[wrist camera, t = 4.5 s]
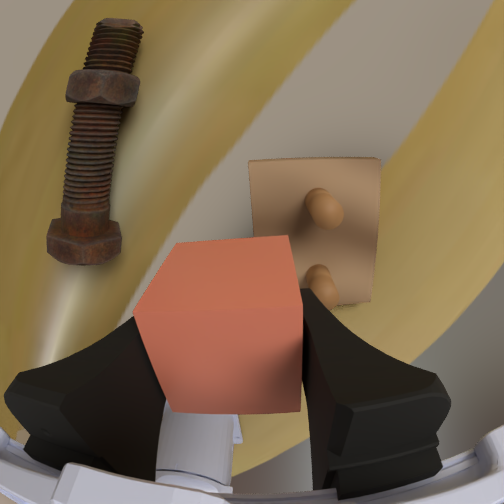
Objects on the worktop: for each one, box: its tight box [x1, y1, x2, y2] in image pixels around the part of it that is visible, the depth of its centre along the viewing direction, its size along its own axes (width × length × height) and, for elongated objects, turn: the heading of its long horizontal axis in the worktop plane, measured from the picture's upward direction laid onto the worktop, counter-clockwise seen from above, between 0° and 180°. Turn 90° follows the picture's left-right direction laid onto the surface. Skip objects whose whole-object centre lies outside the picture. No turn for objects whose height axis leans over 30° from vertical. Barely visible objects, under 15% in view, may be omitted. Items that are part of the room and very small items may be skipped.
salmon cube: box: [133, 235, 303, 414], centre depth 11 cm, size 5×5×5 cm
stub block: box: [248, 157, 381, 310], centre depth 18 cm, size 10×8×4 cm
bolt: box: [46, 18, 144, 265], centre depth 15 cm, size 6×5×15 cm
